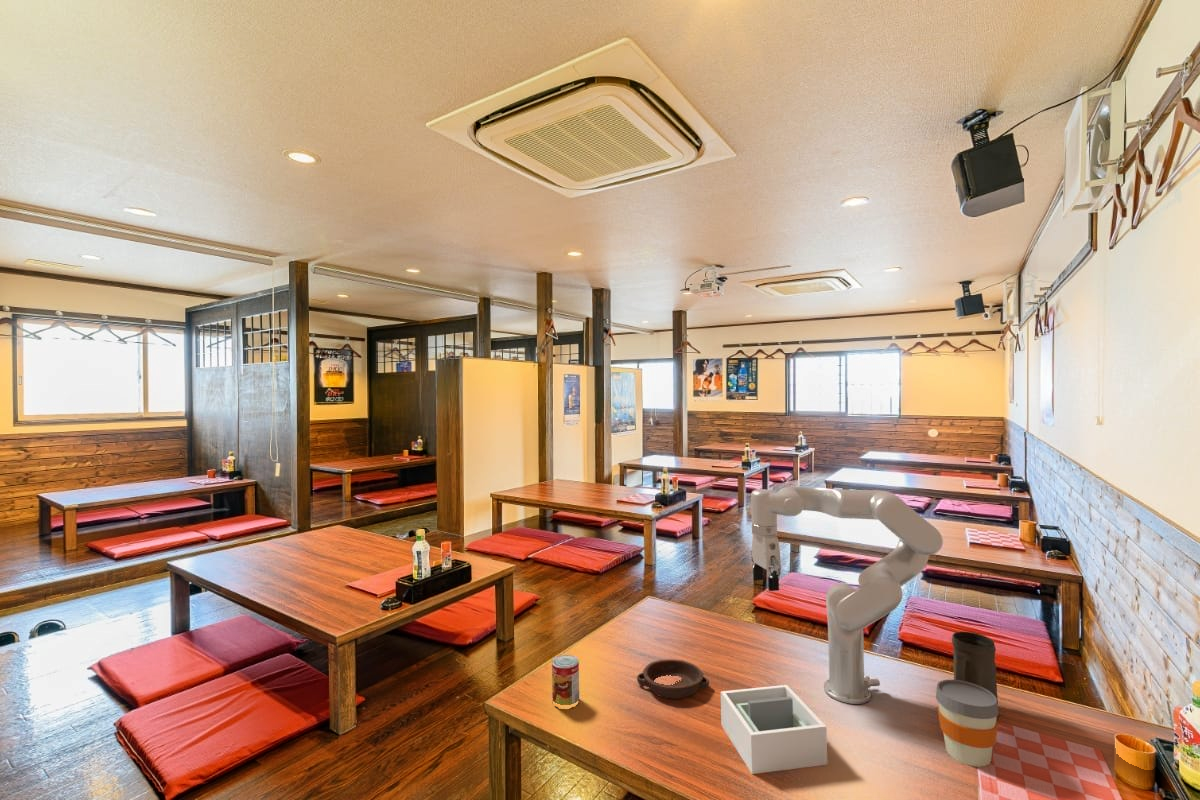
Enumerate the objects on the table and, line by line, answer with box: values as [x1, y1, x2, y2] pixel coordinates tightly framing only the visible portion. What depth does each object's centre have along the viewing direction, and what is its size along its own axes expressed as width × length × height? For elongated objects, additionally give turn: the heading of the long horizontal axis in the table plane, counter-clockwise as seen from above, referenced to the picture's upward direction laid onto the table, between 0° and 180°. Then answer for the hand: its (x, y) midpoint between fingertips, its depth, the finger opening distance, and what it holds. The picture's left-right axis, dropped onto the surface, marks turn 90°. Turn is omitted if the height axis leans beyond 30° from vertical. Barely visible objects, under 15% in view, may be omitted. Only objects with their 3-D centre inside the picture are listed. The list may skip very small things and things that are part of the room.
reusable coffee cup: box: [935, 679, 1000, 768], centre depth 127 cm, size 13×13×15 cm
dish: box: [636, 658, 710, 700], centre depth 159 cm, size 18×22×5 cm
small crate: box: [736, 696, 806, 732], centre depth 132 cm, size 13×13×10 cm
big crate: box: [720, 684, 828, 775], centre depth 132 cm, size 19×19×9 cm
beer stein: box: [951, 631, 1000, 719], centre depth 144 cm, size 15×11×20 cm
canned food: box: [551, 654, 580, 705], centre depth 152 cm, size 8×8×12 cm
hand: (765, 585), depth 161 cm, fingers open, 9 cm apart
